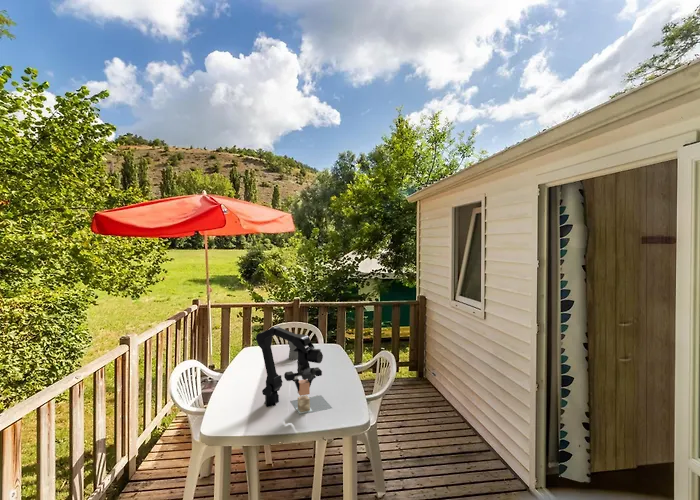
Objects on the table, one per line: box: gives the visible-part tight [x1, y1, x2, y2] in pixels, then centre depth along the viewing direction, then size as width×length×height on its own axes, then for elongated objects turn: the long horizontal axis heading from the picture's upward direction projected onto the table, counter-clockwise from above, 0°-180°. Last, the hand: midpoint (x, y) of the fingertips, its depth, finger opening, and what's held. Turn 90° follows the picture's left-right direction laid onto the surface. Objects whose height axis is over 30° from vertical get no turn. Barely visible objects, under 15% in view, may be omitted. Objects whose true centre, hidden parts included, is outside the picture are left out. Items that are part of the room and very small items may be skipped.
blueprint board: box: [290, 394, 333, 416], centre depth 198 cm, size 18×18×1 cm
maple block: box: [297, 395, 310, 412], centre depth 192 cm, size 5×5×6 cm
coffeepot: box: [288, 341, 298, 360], centre depth 280 cm, size 15×9×18 cm, turn 70°
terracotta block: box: [297, 379, 311, 397], centre depth 192 cm, size 5×5×6 cm
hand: (303, 390), depth 192 cm, fingers closed on terracotta block, 5 cm apart
